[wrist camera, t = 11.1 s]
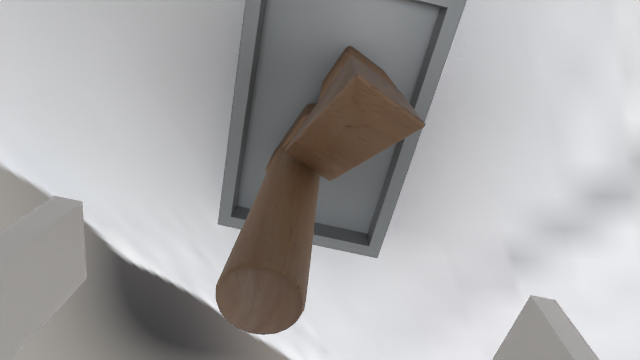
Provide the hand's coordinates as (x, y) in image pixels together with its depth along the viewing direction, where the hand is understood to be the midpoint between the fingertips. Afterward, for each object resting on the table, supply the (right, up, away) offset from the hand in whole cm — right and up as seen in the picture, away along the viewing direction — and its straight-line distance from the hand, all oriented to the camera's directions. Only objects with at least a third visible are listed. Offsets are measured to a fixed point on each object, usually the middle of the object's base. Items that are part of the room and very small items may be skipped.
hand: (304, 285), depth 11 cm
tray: (+1, +8, +20) cm, 21 cm away
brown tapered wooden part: (+1, +8, +19) cm, 21 cm away
